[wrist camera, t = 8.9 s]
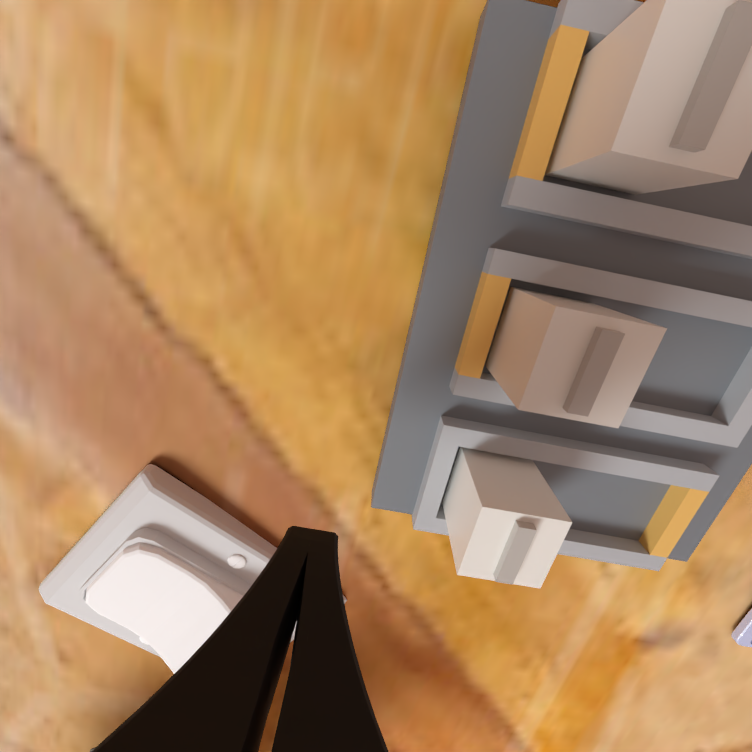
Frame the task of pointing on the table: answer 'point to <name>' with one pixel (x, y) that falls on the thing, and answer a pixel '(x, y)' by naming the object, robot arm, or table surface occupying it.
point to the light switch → (159, 568)
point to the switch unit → (579, 282)
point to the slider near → (662, 100)
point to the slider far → (502, 518)
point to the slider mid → (570, 357)
